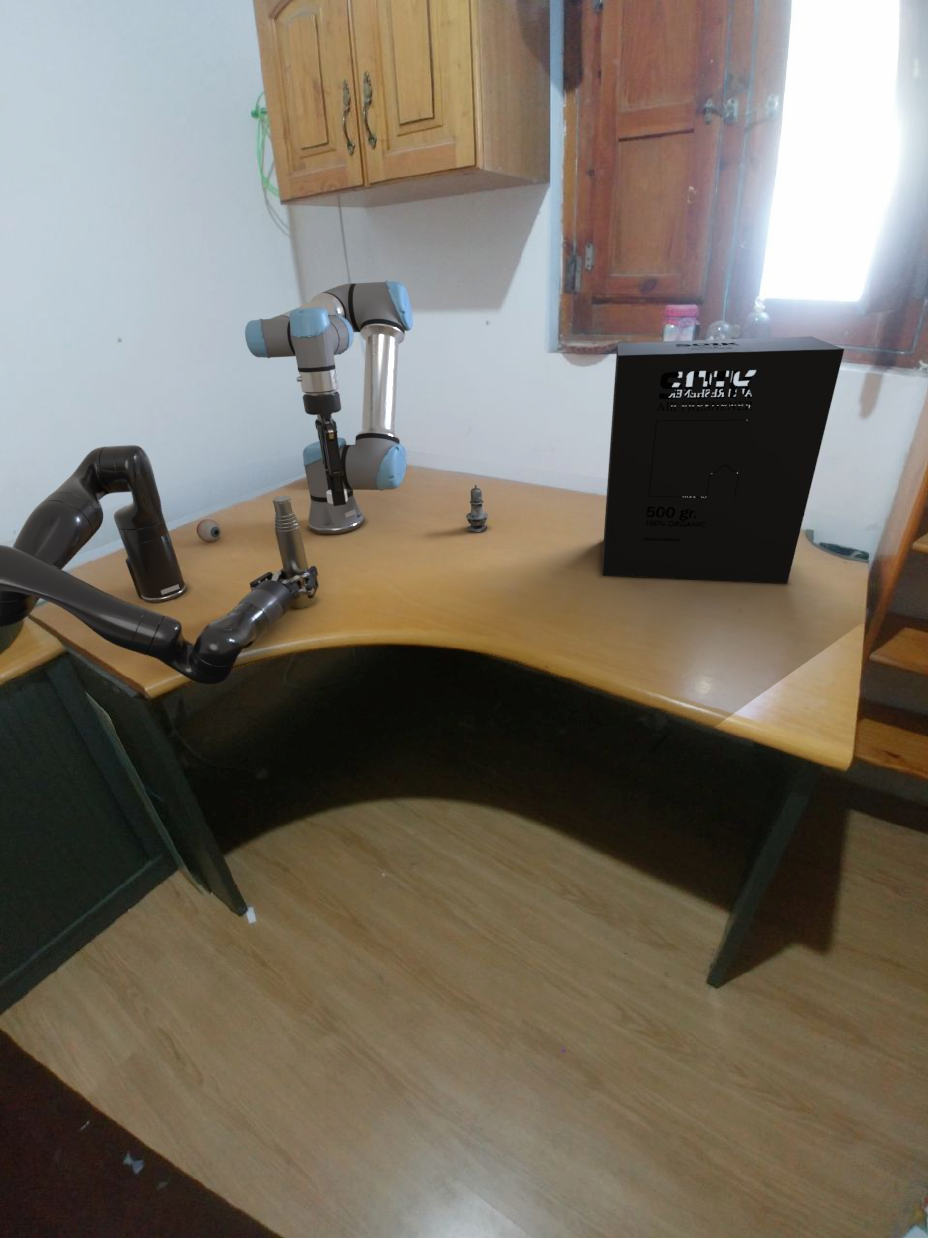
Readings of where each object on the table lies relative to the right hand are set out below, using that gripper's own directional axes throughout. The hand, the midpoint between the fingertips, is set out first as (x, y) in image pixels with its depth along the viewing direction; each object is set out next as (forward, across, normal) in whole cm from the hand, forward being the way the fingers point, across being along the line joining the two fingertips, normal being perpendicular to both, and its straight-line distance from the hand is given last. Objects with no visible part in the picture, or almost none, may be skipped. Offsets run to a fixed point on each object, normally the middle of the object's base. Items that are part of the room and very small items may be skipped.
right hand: (337, 501), depth 136 cm
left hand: (+10, +11, -11) cm, 18 cm away
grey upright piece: (+16, -10, +37) cm, 41 cm away
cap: (-2, 0, 0) cm, 2 cm away
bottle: (+17, +13, -12) cm, 24 cm away
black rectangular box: (+17, +31, +73) cm, 81 cm away
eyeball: (+17, -34, -31) cm, 49 cm away
